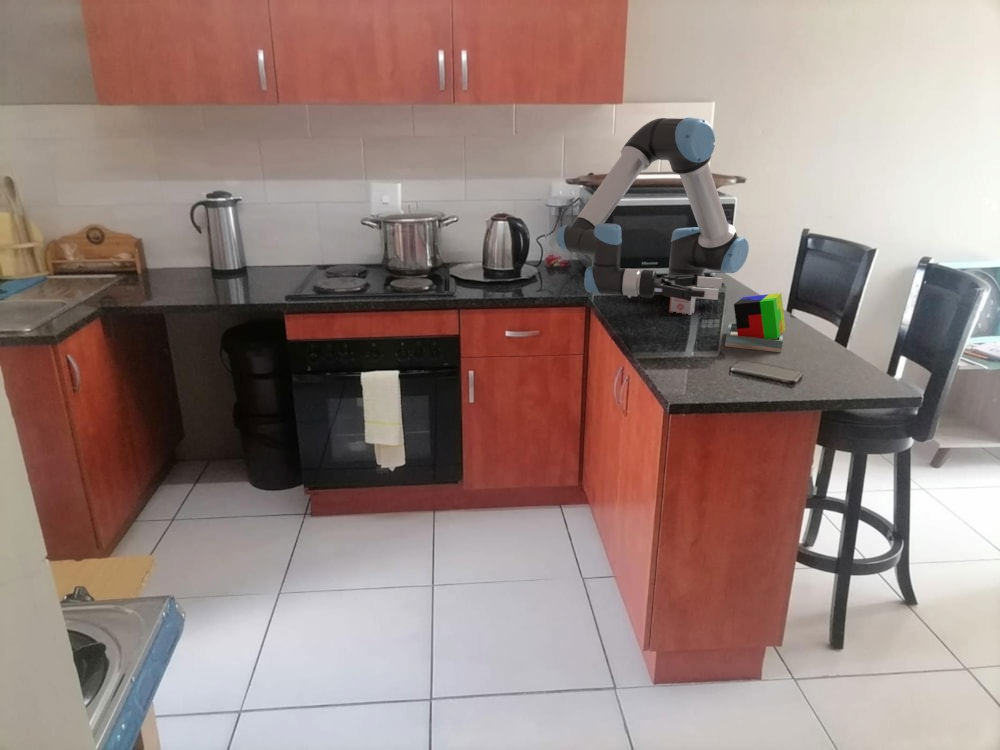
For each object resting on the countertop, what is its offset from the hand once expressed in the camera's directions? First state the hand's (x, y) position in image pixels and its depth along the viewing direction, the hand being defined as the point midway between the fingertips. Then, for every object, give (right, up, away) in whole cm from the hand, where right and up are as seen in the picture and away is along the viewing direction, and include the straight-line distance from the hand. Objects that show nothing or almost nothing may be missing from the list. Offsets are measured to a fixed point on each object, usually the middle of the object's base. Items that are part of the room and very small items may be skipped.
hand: (720, 288), depth 189 cm
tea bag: (-2, -4, +32) cm, 33 cm away
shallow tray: (+10, -14, +2) cm, 17 cm away
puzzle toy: (+12, -13, +1) cm, 17 cm away
